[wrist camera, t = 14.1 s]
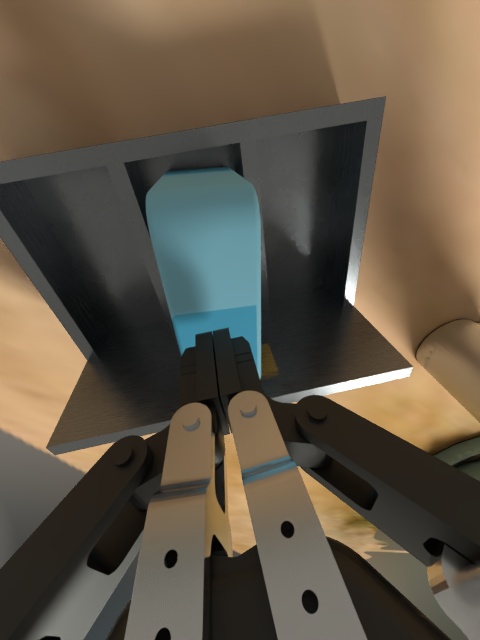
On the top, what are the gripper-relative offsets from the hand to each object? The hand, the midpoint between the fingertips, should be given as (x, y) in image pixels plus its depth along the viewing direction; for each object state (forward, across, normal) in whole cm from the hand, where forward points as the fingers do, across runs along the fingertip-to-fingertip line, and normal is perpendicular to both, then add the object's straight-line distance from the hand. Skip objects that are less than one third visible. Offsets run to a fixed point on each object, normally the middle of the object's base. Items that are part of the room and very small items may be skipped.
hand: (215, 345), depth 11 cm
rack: (+15, 0, 0) cm, 15 cm away
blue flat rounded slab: (+14, 0, 0) cm, 14 cm away
